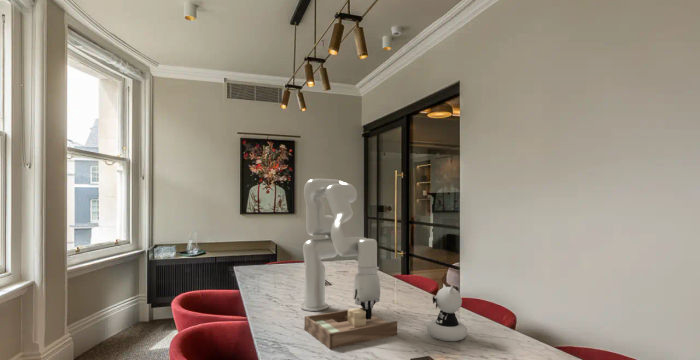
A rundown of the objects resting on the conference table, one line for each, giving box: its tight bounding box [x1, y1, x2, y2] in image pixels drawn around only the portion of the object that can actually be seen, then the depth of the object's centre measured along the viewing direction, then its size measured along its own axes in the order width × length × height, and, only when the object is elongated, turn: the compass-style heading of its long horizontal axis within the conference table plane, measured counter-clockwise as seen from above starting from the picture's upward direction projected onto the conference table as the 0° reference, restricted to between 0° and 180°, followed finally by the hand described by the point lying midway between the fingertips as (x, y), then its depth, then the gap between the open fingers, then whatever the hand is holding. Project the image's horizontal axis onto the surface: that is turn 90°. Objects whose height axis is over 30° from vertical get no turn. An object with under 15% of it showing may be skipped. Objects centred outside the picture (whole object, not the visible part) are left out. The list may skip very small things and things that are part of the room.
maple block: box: [347, 307, 366, 327], centre depth 147 cm, size 5×5×5 cm
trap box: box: [303, 307, 398, 350], centre depth 146 cm, size 22×28×5 cm
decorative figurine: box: [426, 282, 468, 342], centre depth 144 cm, size 15×15×20 cm
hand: (367, 318), depth 150 cm, fingers closed
